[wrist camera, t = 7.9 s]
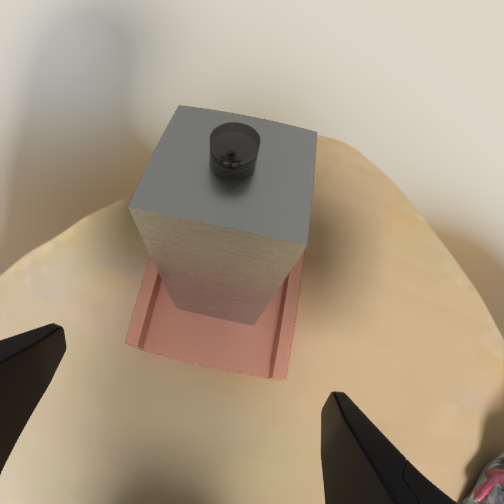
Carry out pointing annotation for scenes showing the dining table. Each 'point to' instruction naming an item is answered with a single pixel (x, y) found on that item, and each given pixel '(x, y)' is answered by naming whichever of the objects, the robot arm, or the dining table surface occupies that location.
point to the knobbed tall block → (226, 209)
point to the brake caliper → (488, 484)
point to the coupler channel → (217, 330)
